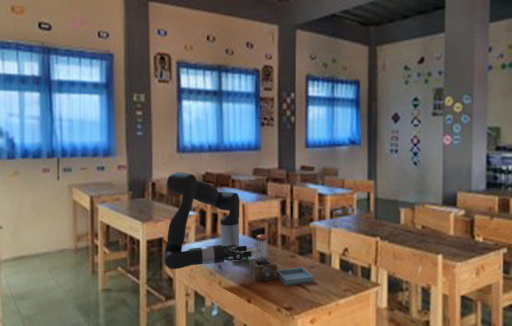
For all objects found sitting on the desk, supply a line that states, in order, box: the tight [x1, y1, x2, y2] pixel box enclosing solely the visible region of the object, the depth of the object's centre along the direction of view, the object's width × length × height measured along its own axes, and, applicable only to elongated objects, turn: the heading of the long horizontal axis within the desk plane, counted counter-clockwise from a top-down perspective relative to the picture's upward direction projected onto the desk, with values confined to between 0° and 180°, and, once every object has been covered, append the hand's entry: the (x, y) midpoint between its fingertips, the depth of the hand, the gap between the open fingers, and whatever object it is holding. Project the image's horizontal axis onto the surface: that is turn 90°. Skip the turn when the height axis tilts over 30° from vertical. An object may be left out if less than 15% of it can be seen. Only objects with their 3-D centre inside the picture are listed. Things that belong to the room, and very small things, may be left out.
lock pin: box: [256, 233, 269, 265], centre depth 181 cm, size 5×5×15 cm
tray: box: [277, 266, 315, 287], centre depth 177 cm, size 13×13×2 cm
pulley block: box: [248, 257, 278, 282], centre depth 181 cm, size 12×10×6 cm
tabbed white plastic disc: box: [229, 246, 258, 265], centre depth 201 cm, size 15×8×11 cm
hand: (248, 250), depth 179 cm, fingers open, 8 cm apart
